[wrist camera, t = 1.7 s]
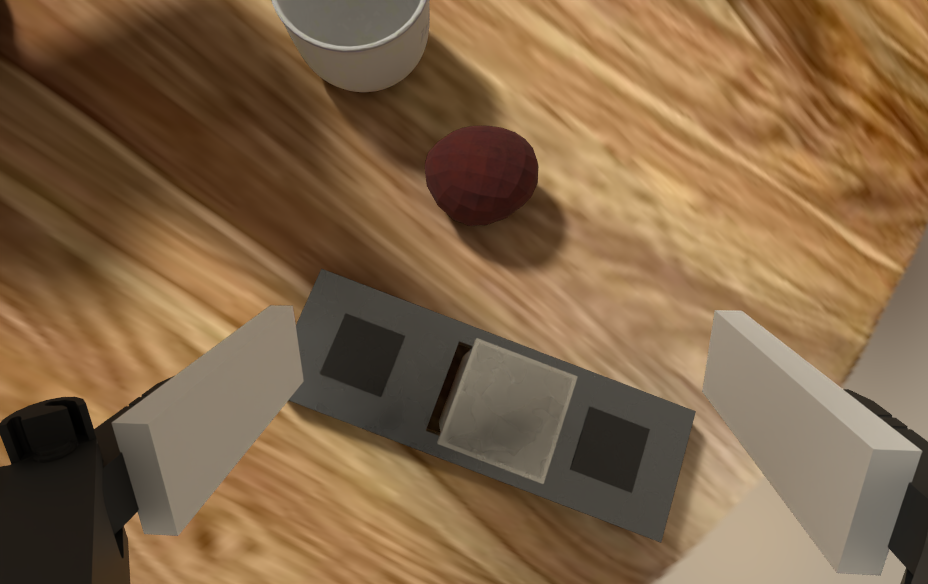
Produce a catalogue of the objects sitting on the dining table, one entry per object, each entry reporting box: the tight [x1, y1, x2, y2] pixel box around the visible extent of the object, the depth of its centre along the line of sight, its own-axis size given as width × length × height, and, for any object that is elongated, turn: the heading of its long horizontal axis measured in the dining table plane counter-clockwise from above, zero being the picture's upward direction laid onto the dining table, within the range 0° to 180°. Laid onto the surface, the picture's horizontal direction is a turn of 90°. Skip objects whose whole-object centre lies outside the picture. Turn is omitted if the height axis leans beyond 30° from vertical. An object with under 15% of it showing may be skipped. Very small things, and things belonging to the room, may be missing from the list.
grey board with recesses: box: [289, 269, 696, 542], centre depth 34 cm, size 28×9×3 cm, turn 69°
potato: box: [425, 126, 538, 226], centre depth 35 cm, size 7×8×6 cm
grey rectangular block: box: [437, 338, 578, 484], centre depth 29 cm, size 5×5×12 cm
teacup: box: [272, 0, 430, 92], centre depth 36 cm, size 14×11×8 cm
